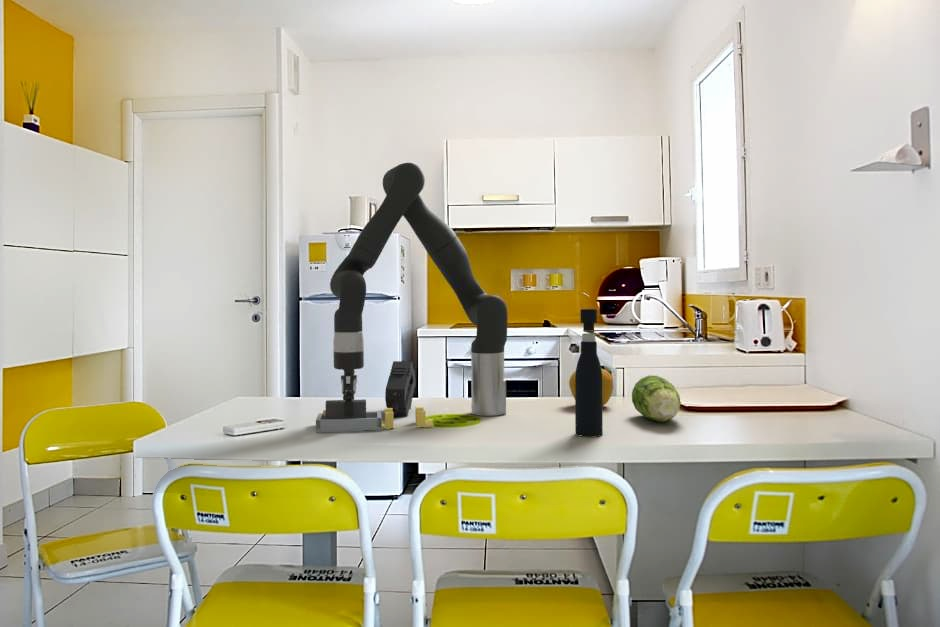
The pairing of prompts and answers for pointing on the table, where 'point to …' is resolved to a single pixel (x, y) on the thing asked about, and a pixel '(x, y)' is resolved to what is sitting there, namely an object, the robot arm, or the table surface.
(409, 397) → the tool
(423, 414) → the blocks
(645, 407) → the lettuce
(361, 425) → the tray
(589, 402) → the wine bottle
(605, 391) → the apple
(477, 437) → the table surface
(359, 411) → the grey slab
